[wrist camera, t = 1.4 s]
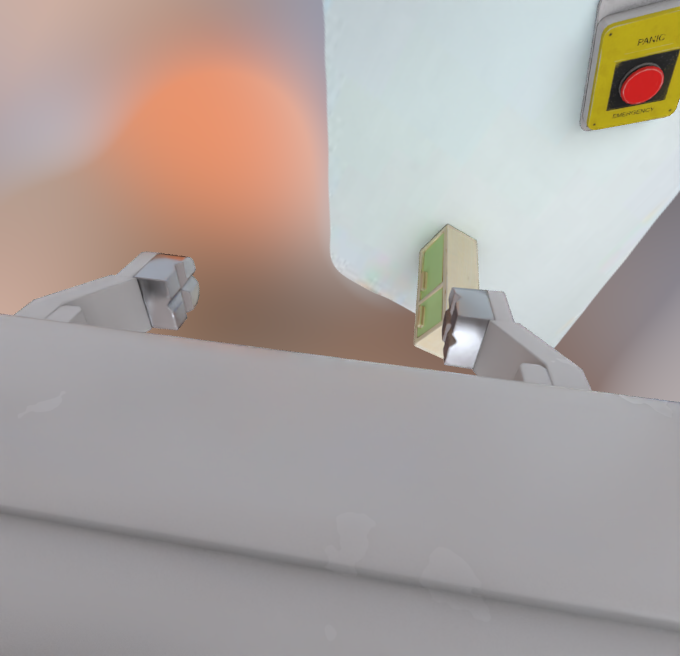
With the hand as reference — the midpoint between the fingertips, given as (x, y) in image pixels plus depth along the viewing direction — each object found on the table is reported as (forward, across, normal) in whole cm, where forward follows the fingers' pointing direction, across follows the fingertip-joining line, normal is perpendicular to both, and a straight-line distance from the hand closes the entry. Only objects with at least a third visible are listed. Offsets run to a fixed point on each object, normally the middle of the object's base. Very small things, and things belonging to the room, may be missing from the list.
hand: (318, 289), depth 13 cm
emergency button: (+49, -27, -4) cm, 56 cm away
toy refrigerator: (+58, -12, +26) cm, 65 cm away
